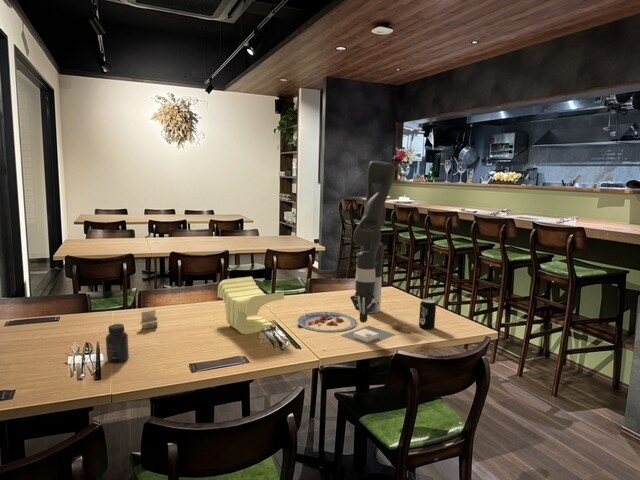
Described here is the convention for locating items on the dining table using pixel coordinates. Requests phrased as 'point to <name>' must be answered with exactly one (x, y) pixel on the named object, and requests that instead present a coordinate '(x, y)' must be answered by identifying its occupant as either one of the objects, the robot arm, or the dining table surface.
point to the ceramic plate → (325, 316)
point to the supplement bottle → (117, 344)
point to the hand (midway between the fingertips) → (363, 321)
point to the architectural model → (149, 319)
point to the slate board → (382, 333)
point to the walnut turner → (401, 327)
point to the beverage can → (427, 314)
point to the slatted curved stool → (245, 303)
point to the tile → (365, 335)
